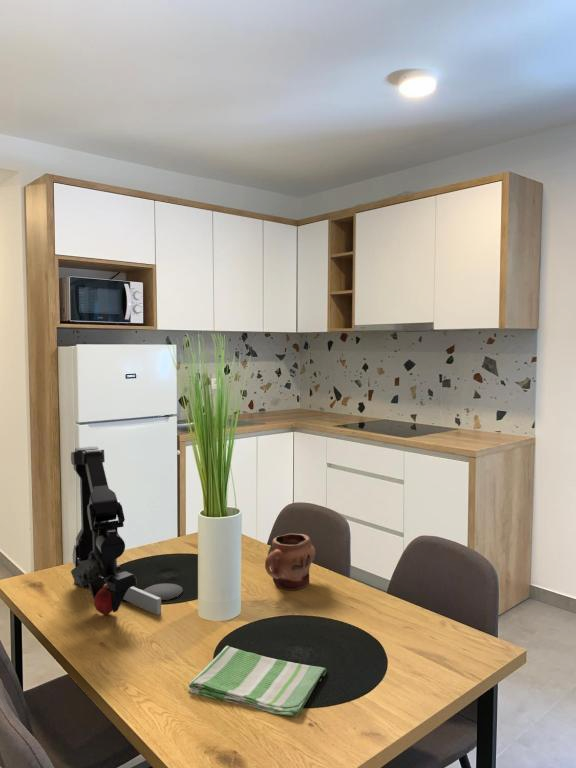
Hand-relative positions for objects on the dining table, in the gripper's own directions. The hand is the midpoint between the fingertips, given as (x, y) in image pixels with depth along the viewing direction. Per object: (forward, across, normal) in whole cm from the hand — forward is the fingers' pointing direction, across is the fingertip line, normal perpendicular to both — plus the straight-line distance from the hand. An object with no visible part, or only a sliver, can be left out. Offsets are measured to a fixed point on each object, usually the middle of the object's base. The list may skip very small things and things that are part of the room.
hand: (106, 607), depth 154 cm
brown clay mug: (+2, +24, +44) cm, 50 cm away
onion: (+2, 0, 0) cm, 2 cm away
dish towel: (+3, +51, +2) cm, 51 cm away
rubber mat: (+2, 0, +18) cm, 18 cm away
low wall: (+2, 0, +9) cm, 9 cm away
